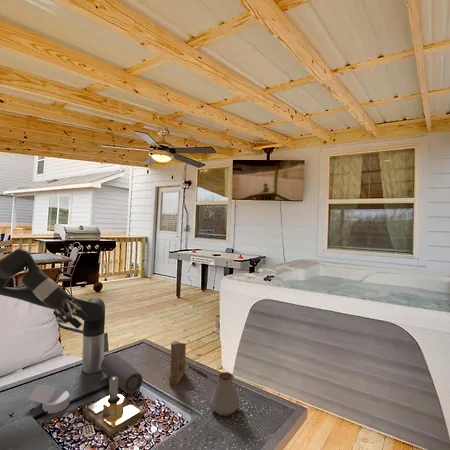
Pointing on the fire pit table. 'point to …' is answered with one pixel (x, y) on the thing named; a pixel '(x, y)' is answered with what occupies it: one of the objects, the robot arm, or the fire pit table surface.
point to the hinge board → (100, 417)
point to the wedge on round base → (51, 398)
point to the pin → (113, 390)
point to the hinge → (114, 411)
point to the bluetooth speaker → (122, 373)
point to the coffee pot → (222, 393)
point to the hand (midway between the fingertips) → (83, 322)
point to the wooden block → (177, 362)
